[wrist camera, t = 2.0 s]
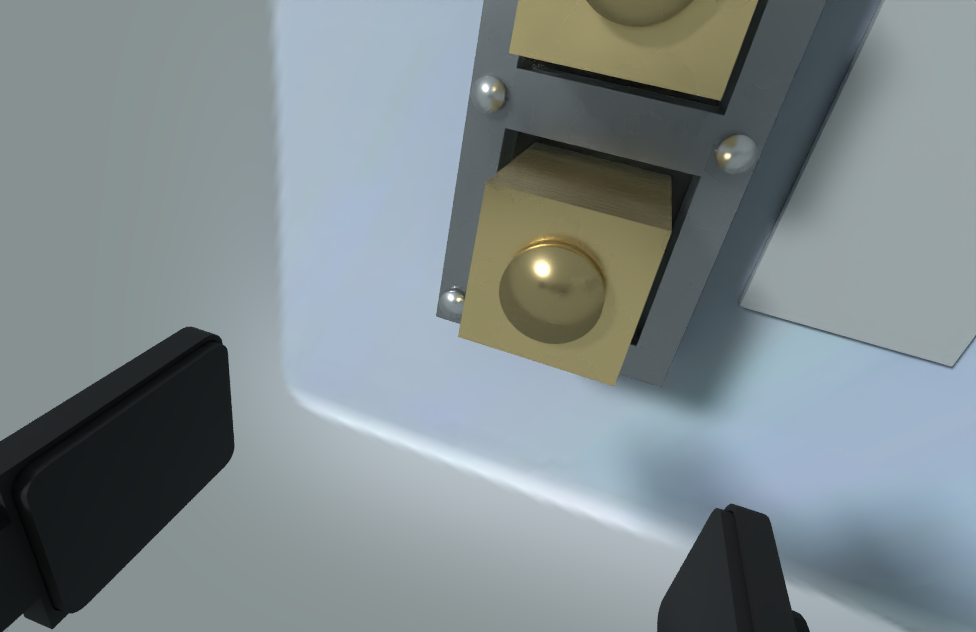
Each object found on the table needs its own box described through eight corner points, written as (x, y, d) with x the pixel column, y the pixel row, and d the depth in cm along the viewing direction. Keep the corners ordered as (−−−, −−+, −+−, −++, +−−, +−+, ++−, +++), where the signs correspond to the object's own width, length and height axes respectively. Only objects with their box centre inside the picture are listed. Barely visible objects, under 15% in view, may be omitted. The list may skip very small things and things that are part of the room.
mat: (1205, 14, 15) (1217, 13, 15) (947, 361, 21) (952, 366, 21) (899, -40, 16) (904, -41, 16) (738, 302, 22) (739, 306, 22)
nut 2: (671, 175, 21) (672, 238, 15) (628, 298, 24) (612, 396, 17) (535, 142, 22) (479, 186, 16) (509, 263, 25) (452, 345, 18)
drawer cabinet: (892, -201, 15) (936, -248, 13) (661, 356, 25) (660, 392, 22) (545, -246, 17) (524, -294, 14) (455, 293, 26) (432, 320, 24)
